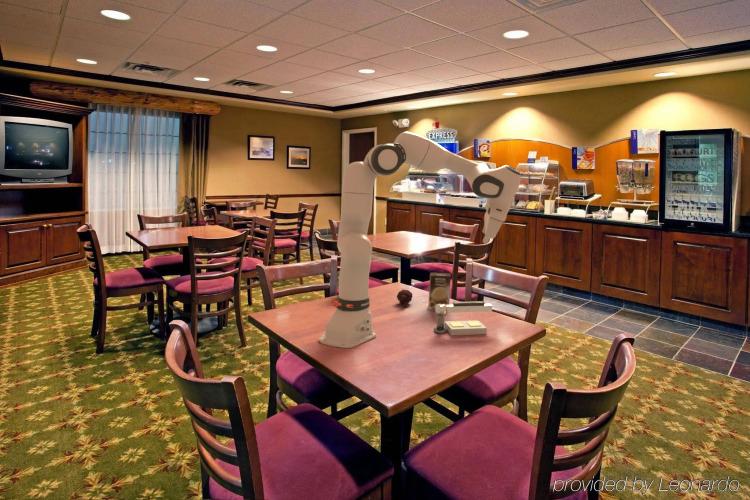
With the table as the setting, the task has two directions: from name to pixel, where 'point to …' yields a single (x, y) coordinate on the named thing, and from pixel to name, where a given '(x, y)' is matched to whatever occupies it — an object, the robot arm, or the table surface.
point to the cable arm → (463, 307)
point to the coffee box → (439, 289)
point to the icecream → (404, 297)
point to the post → (440, 324)
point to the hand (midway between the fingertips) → (484, 237)
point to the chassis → (465, 327)
